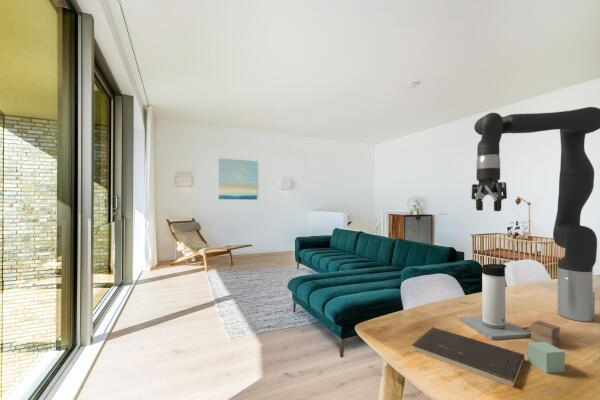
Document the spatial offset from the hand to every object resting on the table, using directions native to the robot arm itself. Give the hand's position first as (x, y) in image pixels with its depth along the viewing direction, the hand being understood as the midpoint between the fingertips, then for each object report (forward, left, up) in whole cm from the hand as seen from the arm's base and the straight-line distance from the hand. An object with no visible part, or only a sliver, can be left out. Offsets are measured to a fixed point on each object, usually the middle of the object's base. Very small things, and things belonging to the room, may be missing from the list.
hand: (488, 210), depth 109 cm
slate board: (+9, +13, -38) cm, 41 cm away
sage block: (+14, +34, -38) cm, 53 cm away
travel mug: (+9, +13, -37) cm, 40 cm away
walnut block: (+1, +23, -38) cm, 45 cm away
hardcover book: (+30, +27, -39) cm, 56 cm away
